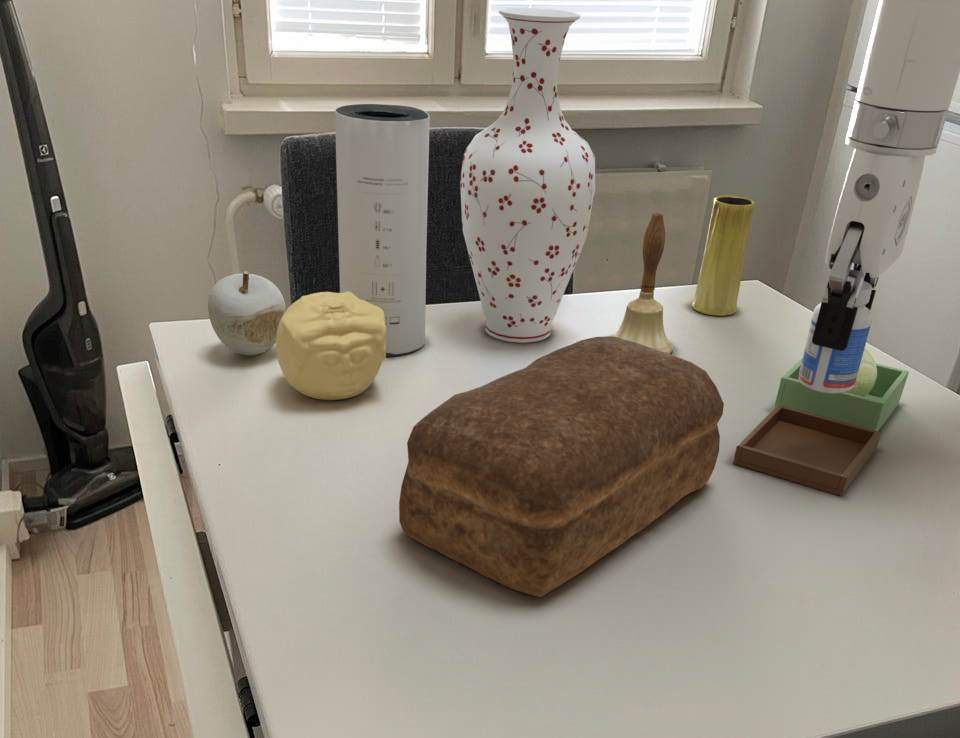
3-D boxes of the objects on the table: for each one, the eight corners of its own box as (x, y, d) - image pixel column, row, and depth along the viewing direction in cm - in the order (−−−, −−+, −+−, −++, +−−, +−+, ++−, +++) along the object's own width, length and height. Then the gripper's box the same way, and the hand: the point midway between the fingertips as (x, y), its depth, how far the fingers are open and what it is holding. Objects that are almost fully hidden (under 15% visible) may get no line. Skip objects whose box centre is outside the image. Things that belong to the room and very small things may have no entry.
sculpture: (296, 417, 104) (289, 316, 98) (267, 374, 113) (259, 278, 106) (398, 403, 108) (398, 304, 102) (363, 362, 117) (360, 269, 110)
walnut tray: (876, 449, 105) (881, 431, 103) (841, 496, 96) (847, 478, 95) (774, 421, 109) (778, 404, 108) (732, 463, 100) (736, 445, 99)
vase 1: (450, 308, 133) (458, 0, 112) (568, 309, 135) (598, 6, 114) (461, 354, 120) (473, 16, 99) (591, 354, 122) (630, 23, 101)
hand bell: (593, 345, 125) (609, 212, 115) (632, 330, 130) (650, 201, 120) (647, 365, 120) (668, 228, 111) (685, 348, 125) (708, 216, 116)
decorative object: (249, 334, 123) (241, 251, 116) (303, 351, 119) (298, 266, 113) (196, 355, 117) (185, 268, 110) (251, 374, 113) (243, 285, 107)
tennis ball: (878, 415, 110) (896, 357, 106) (823, 417, 109) (839, 358, 105) (850, 391, 115) (866, 335, 111) (797, 393, 114) (812, 336, 110)
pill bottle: (859, 382, 98) (888, 282, 93) (844, 399, 95) (873, 297, 89) (806, 368, 101) (831, 270, 95) (789, 385, 97) (813, 284, 91)
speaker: (433, 331, 126) (437, 101, 110) (418, 361, 118) (420, 118, 102) (352, 323, 127) (344, 95, 111) (331, 353, 119) (320, 111, 103)
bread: (723, 483, 97) (752, 353, 89) (535, 616, 78) (550, 465, 70) (582, 429, 105) (596, 305, 97) (380, 536, 86) (377, 394, 78)
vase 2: (744, 310, 138) (766, 201, 130) (720, 319, 134) (742, 208, 126) (707, 298, 141) (726, 192, 133) (683, 308, 138) (701, 199, 129)
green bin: (898, 404, 114) (909, 371, 112) (872, 438, 107) (883, 403, 104) (804, 380, 119) (812, 347, 116) (773, 411, 111) (781, 377, 109)
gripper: (916, 150, 76) (852, 374, 87) (961, 121, 88) (899, 322, 99) (821, 136, 80) (770, 354, 91) (876, 109, 91) (826, 305, 102)
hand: (838, 335), depth 95 cm, fingers closed on pill bottle, 5 cm apart
